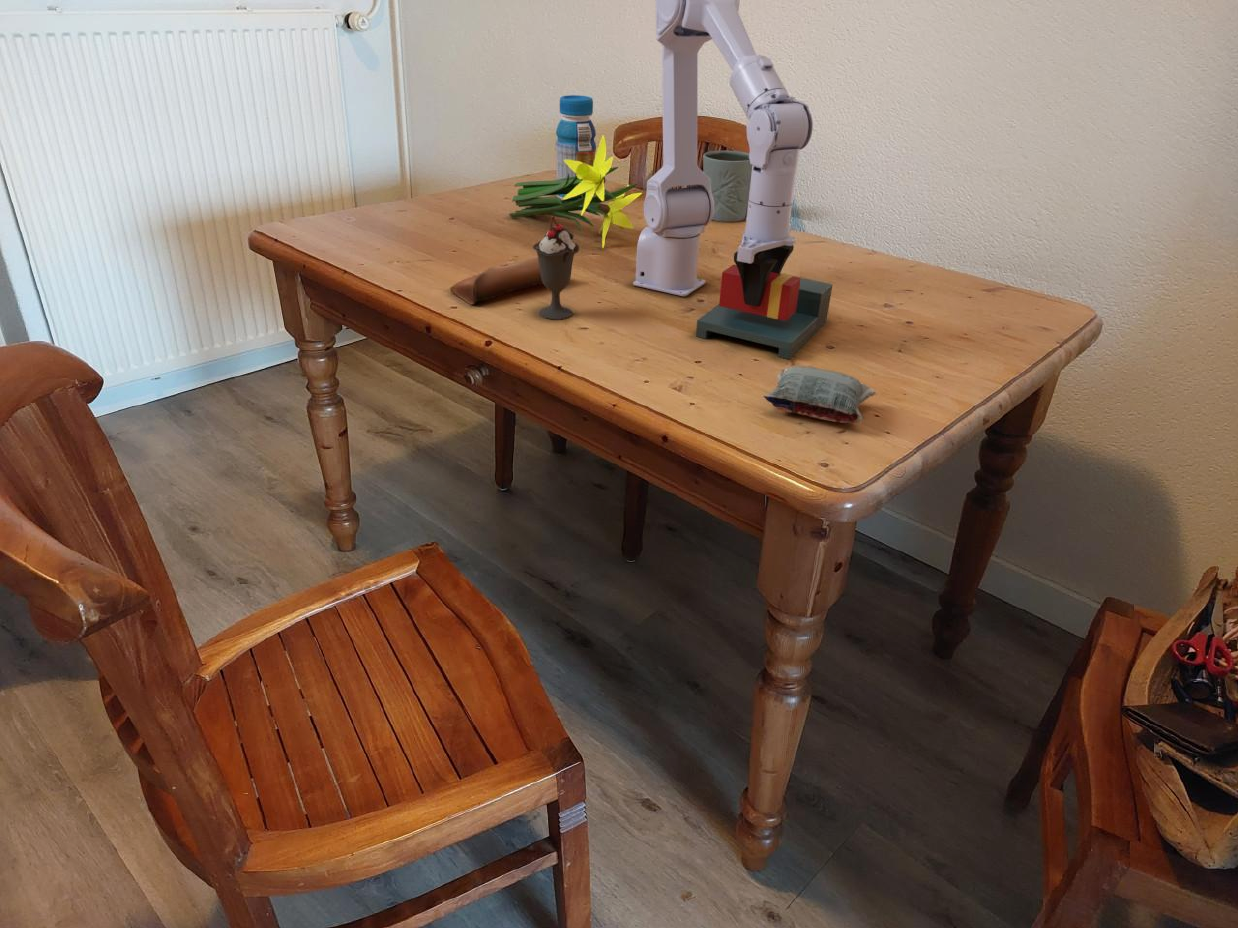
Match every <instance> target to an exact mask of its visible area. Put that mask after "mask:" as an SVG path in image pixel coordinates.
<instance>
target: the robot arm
mask: <svg viewBox="0 0 1238 928" xmlns="http://www.w3.org/2000/svg"><path fill="white" fill-rule="evenodd" d="M740 2H741V1H740V0H655V37H656V41H657V42H658V43H660V44H661V87H662V88H661V94H662V95H661V97H662V99H661V101H662V167H661V168H659V170H657V171H656V172H655V173H654V174H653V175H652V176H651V177H650V178H649V179H648V180H647V181H646V194H645V198H644V202H643V216H644V221H645V222H646V225H647V226H646V227H644V228H643V229H642V231H641V232H640V234H639V237H638V240H637V246H636V258H635V259H636V261H635V263H636V264H635V279H634V281H633V282H632V285H633V286H636V287H640V288H645V289H648V290H653V291H657V292H661V293H665V294H670V295H675V296H680V297H688V296H689V295H690V294H691V293H694V292H695V291H696V290H698V289H699V288H701V287H702V286H703V285H705V284H706V280H705V279H702V278H698V277H697V276H698V265H699V255H700V253H699V252H700V244H701V243H700V242H701V241H700V240H701V234H702V233H706V232H705V230H706V227H707V226H709V225H710V224H711V222H712V221H713V220H712V217H713V215H714V199H713V196H712V192H711V179H710V178H709V177H708V176H707V175H706V174H705V173H704V172H703V171H704V170H702V169H701V168H700V167H699V166H698V72H699V71H698V66H699V65H698V62H699V61H698V59H699V57H698V56H699V55H698V54H699V51H700V50H701V49H702V47H703V46H704V44H706V43H708V42H709V41H713V43H714V44H715V46H716V47H717V49H718V50H719V52H720V53H721V55H722V57H723V58H724V60H725V61H726V63H727V64H728V66H729V67H730V69H731V70H732V72H731V74H730V77H729V85H730V87H731V89H732V92H733V94H734V95H735V97H736V99H737V101H738V103H739V105H740V107H741V109H742V111H743V112H744V114H745V116H746V118H747V120H748V123H747V124H746V127H745V129H746V139H747V142H748V147H749V152H748V153H749V159H750V164H752V174H751V183H750V190H749V191H750V192H749V197H748V203H747V210H746V217H745V218H746V219H745V227H744V228H745V229H744V231H743V232H742V239H741V243H740V245H739V246H738V247H737V251H735V252H734V253H733V263H734V265H736V266H737V268H738V271H739V274H740V277H741V282H742V289H743V297H744V303H745V304H747V305H752V306H756V307H758V306H760V304H761V301H762V299H763V295H764V291H765V287H766V284H767V281H768V278H769V275H770V273H771V272H774V273H778V274H780V273H781V274H782V270H783V269H784V266H785V264H786V262H787V260H788V259H789V257H790V255H791V254H792V253H793V251H794V245H795V244H796V242H797V238H796V237H794V236H791V233H792V225H793V224H792V223H791V215H792V207H793V200H794V194H795V185H796V178H797V173H798V166H799V156H800V152H801V151H800V150H803V149H804V148H806V147H807V146H808V144H809V142H810V140H811V138H812V134H813V130H814V129H813V128H814V121H813V116H812V113H811V110H810V108H809V105H808V104H807V103H806V102H804V101H803V100H797V99H796V96H790V95H789V92H788V91H787V89H786V87H785V86H784V84H783V82H782V80H781V78H780V76H779V74H778V72H777V71H776V69H775V67H774V63H773V62H772V60H771V58H769V57H767V56H765V55H761V54H757V53H756V51H755V48H754V46H753V43H752V41H751V39H750V37H749V34H748V32H747V30H746V27H745V25H744V22H743V21H742V18H741V16H740V13H739V10H740ZM687 186H688V187H687ZM675 187H677V188H675Z"/></svg>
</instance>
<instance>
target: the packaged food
mask: <svg viewBox="0 0 1238 928" xmlns="http://www.w3.org/2000/svg"><path fill="white" fill-rule="evenodd" d="M776 379H777V386H776V388H775V389H773V390H772V391H770V392H768V393H766V394H765V395H763V398H765V400H766V401H767V402H768V403H771V404H772V406H773V407H774V408H776V409H777V410H778V411H782V412H785V413H791V414H795V415H801V416H807V417H810V418H814V419H819V420H824V421H829V422H834V423H841V424H842V423H843V424H845V423H847V424H851V423H853V422H859V423H861V424H863V423H864V420H863V418H862V413H861V411H860V410H859V408H858V407H859V406H861V404H863V403H864V402H865V401H867V400H868V399H869V398H870V397H874V396H876V393H877V392H876V390H874V389H872V388H870V386H868V385H866V384H865V383H861V382H860V380H858V379H857V377H854V376H851V375H849V374H845V373H842V372H837V371H833V370H828V369H823V368H818V367H814V366H800V365H799V366H798V365H797V366H789V367H788V368H785V369H783V368H781V371H780V373H779V374H778V375H777V377H776Z"/></svg>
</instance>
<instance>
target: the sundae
mask: <svg viewBox="0 0 1238 928" xmlns="http://www.w3.org/2000/svg"><path fill="white" fill-rule="evenodd" d="M555 218H556V217H555V216H551V219H552V220H551V222H550V225H549V226H550V228H549V229H548V230H547V232H546V233H545V234H544V236H543V238H542V240H540V241H538V242H535V244H534V245H532V246H531V248H532V249H533V250H535V251H536V253H537V254H536V255H537V258H538V260H539V266H540V274H541V278H542V283H543V285H544V287H545V288H546V289H547V290H549V291H550V292H551V302H550V305H549V306H546V307H543V308H541V309H540V310H539V312H538V315H539V316H540V317H542V318H543V319H547V320H552V321H553V320H555V321H559V320H566V319H568V318H570V317H572V315H573V311H572V310H571V309H570V308H567V307H565V306H562V305H561V292H562V291H563V290H564V289H566V288H567V287H568V286H569V284H570V281H571V276H572V271H573V262H574V256H575V255H576V254H578V252H579V250H580V246H579V244H578V243H577V242H574V241H573V239H574V233H572V232H571V231H569V230H568V229H567V228H565V227H564V226H563V225H562V224H560V223H557V222H556V221H555ZM553 222H554V224H555V225H554V226H553Z"/></svg>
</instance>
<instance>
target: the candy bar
mask: <svg viewBox="0 0 1238 928" xmlns="http://www.w3.org/2000/svg"><path fill="white" fill-rule="evenodd" d="M793 276H794V275H790V274H786V273H781V274H778V273H774V272H771V273H770V275H769V278H768V281H767V284H766V287H765V291H764V295H763V299H762V301H761V304H760V306H758V307H756V306H752V305H747V304H745V303H744V297H743V289H742V282H741V277H740V274H739V271H738V268H737V266H736V264H731V266H729V267H727V268H726V269H725V270H723V271H722V272H721V282H720V291H719V300H718V305H719V306H721V307H725V308H730V309H734V310H739V311H743V312H748V313H752V314H757V315H761V316H765V317H769V318H773V319H779V320H783V321H787V320H788V319H789V318H790V317H791V316H792V315H793V314H794V313H796V308H797V301H798V294H799V287H800V280H801V278H802V277H800V278H798V277H799V276H795V277H793Z"/></svg>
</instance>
